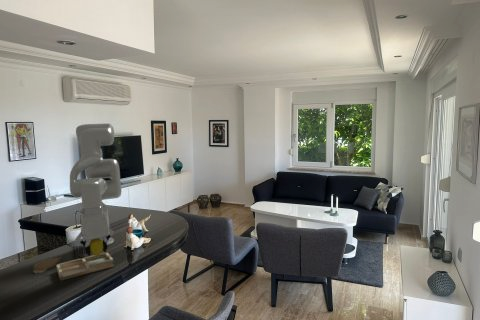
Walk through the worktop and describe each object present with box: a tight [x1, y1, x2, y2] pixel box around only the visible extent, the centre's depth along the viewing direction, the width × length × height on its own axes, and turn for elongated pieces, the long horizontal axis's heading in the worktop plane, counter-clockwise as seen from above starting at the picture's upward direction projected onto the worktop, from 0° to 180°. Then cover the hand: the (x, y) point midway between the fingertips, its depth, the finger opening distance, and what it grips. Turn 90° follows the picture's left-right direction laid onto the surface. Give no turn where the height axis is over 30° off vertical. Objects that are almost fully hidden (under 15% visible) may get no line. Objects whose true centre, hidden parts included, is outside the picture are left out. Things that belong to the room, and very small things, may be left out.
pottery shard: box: [32, 257, 63, 274], centre depth 145 cm, size 8×3×15 cm
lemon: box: [89, 238, 104, 256], centre depth 141 cm, size 6×6×8 cm
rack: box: [55, 251, 115, 281], centre depth 140 cm, size 10×20×3 cm, turn 125°
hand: (96, 252), depth 142 cm, fingers closed on lemon, 5 cm apart
